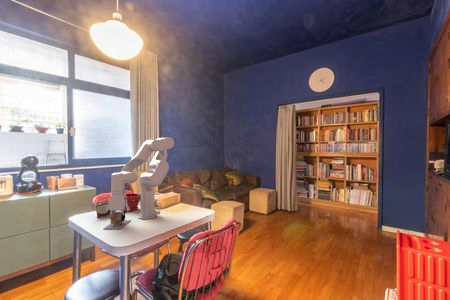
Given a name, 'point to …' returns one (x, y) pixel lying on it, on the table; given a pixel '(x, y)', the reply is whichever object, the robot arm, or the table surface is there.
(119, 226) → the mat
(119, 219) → the walnut block
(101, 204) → the food container
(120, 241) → the table surface
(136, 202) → the plant pot
